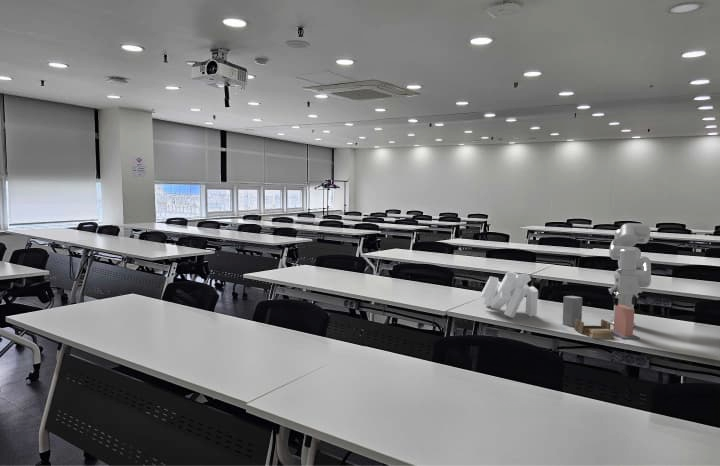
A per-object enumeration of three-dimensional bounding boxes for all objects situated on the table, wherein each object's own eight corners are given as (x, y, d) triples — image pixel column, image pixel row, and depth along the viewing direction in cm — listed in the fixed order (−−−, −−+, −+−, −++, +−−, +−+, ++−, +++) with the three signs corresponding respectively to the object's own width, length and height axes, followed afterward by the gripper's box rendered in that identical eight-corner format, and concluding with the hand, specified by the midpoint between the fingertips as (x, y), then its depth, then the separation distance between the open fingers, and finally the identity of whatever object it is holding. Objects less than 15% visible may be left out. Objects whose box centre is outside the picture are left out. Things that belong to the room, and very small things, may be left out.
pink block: (624, 336, 227) (626, 309, 226) (613, 330, 237) (615, 304, 236) (632, 336, 227) (634, 309, 226) (620, 330, 237) (622, 304, 236)
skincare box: (572, 327, 245) (573, 298, 243) (560, 323, 251) (562, 296, 250) (582, 325, 249) (584, 297, 247) (571, 322, 255) (572, 294, 254)
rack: (574, 329, 239) (575, 318, 239) (602, 330, 239) (603, 319, 239) (581, 333, 232) (581, 322, 232) (609, 334, 232) (610, 323, 232)
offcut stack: (587, 335, 230) (588, 328, 229) (608, 335, 230) (609, 328, 230) (591, 337, 226) (592, 330, 225) (613, 338, 226) (613, 331, 226)
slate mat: (606, 330, 239) (606, 329, 239) (623, 331, 239) (623, 329, 239) (622, 339, 225) (622, 337, 225) (639, 339, 225) (640, 337, 225)
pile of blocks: (467, 318, 278) (475, 274, 259) (488, 293, 298) (496, 250, 279) (522, 344, 260) (535, 298, 241) (540, 316, 280) (553, 272, 261)
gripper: (614, 274, 226) (612, 307, 228) (648, 274, 226) (645, 306, 228) (606, 271, 233) (604, 303, 235) (639, 271, 233) (636, 303, 235)
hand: (624, 304), depth 232 cm, fingers open, 9 cm apart
